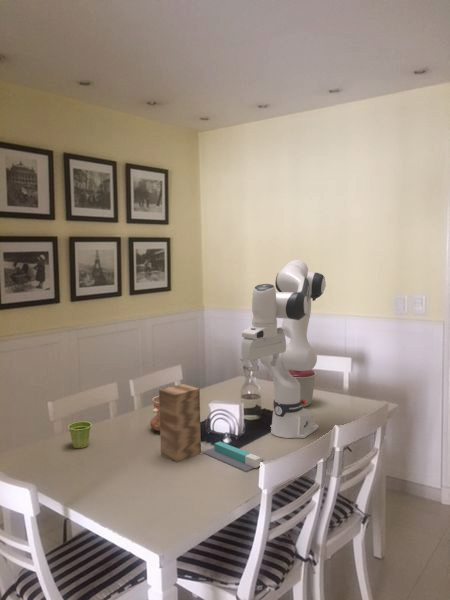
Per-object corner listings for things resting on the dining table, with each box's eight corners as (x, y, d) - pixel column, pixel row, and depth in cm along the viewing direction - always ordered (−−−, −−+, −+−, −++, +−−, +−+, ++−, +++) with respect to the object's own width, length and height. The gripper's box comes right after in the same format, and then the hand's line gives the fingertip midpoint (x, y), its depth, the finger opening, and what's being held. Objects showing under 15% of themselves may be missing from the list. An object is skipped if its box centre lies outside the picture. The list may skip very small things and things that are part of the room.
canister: (319, 409, 247) (319, 368, 244) (282, 410, 247) (282, 368, 245) (313, 398, 265) (313, 359, 262) (278, 399, 265) (278, 360, 263)
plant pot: (97, 443, 208) (96, 423, 207) (82, 451, 200) (81, 430, 199) (79, 440, 212) (78, 420, 211) (64, 448, 204) (62, 427, 203)
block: (220, 448, 199) (220, 441, 199) (260, 465, 184) (260, 457, 183) (214, 450, 197) (214, 443, 197) (255, 467, 181) (255, 460, 181)
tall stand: (184, 446, 204) (183, 383, 201) (200, 453, 197) (199, 388, 194) (161, 454, 196) (159, 389, 193) (176, 462, 188) (174, 395, 186)
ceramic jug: (166, 438, 212) (166, 406, 211) (141, 431, 220) (141, 400, 219) (192, 426, 227) (192, 396, 226) (168, 420, 235) (168, 391, 234)
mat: (223, 445, 204) (223, 444, 204) (266, 462, 187) (266, 461, 187) (202, 453, 197) (202, 451, 197) (246, 472, 179) (246, 470, 179)
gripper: (277, 325, 187) (277, 362, 188) (238, 332, 173) (238, 371, 174) (290, 327, 182) (290, 364, 184) (251, 334, 168) (251, 375, 170)
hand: (264, 368), depth 179 cm, fingers open, 8 cm apart
